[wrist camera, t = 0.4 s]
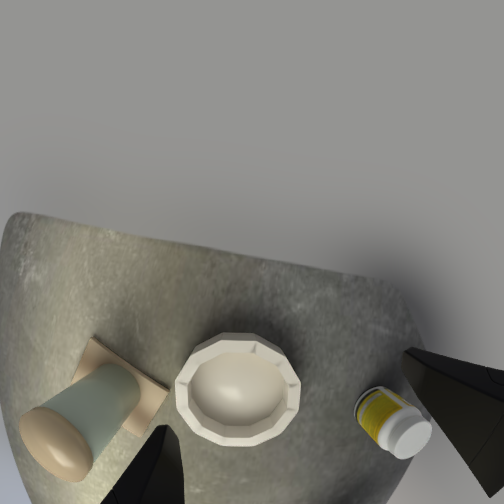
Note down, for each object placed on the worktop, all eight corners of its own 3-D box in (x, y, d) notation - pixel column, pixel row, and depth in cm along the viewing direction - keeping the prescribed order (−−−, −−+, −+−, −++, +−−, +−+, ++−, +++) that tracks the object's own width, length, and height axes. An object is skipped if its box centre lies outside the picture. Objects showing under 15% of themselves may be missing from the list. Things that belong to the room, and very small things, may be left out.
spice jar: (129, 421, 22) (77, 493, 9) (86, 389, 22) (16, 442, 9) (150, 384, 22) (95, 456, 10) (103, 351, 22) (24, 396, 10)
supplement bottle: (348, 425, 23) (382, 468, 15) (358, 386, 24) (400, 422, 15) (385, 420, 24) (425, 455, 15) (396, 383, 24) (442, 412, 16)
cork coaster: (141, 435, 22) (140, 438, 21) (72, 385, 22) (69, 387, 21) (169, 390, 23) (168, 392, 22) (93, 336, 23) (90, 337, 22)
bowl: (255, 443, 23) (258, 460, 20) (163, 397, 23) (156, 411, 20) (313, 365, 24) (323, 376, 21) (217, 311, 24) (214, 316, 21)
